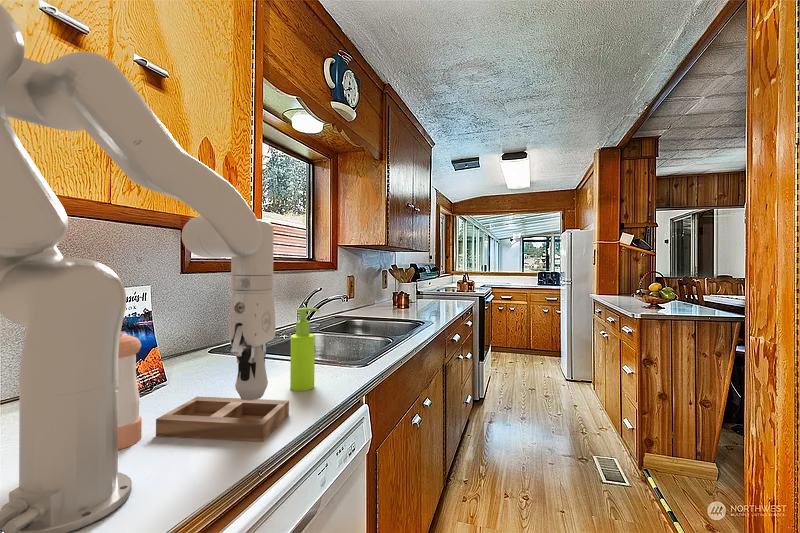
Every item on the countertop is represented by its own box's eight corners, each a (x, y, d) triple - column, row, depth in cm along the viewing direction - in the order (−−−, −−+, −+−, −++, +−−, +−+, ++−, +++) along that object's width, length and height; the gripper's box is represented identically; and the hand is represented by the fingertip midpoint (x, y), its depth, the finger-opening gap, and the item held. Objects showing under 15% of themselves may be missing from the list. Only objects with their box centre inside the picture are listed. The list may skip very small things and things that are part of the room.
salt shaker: (256, 403, 70) (257, 332, 70) (228, 400, 71) (229, 330, 71) (273, 393, 76) (273, 327, 76) (247, 390, 77) (247, 326, 77)
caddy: (262, 441, 67) (262, 424, 67) (155, 435, 69) (155, 419, 69) (288, 415, 79) (289, 400, 79) (197, 410, 81) (197, 396, 81)
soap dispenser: (320, 389, 96) (320, 308, 96) (291, 392, 94) (291, 309, 94) (316, 382, 102) (317, 306, 101) (289, 384, 99) (290, 307, 99)
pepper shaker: (78, 448, 64) (78, 334, 64) (120, 430, 71) (121, 327, 71) (111, 454, 62) (112, 336, 62) (151, 435, 69) (152, 329, 69)
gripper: (250, 287, 65) (250, 396, 65) (287, 282, 81) (287, 369, 82) (208, 286, 66) (208, 394, 66) (253, 282, 82) (253, 368, 82)
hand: (251, 379), depth 74 cm, fingers closed on salt shaker, 3 cm apart
